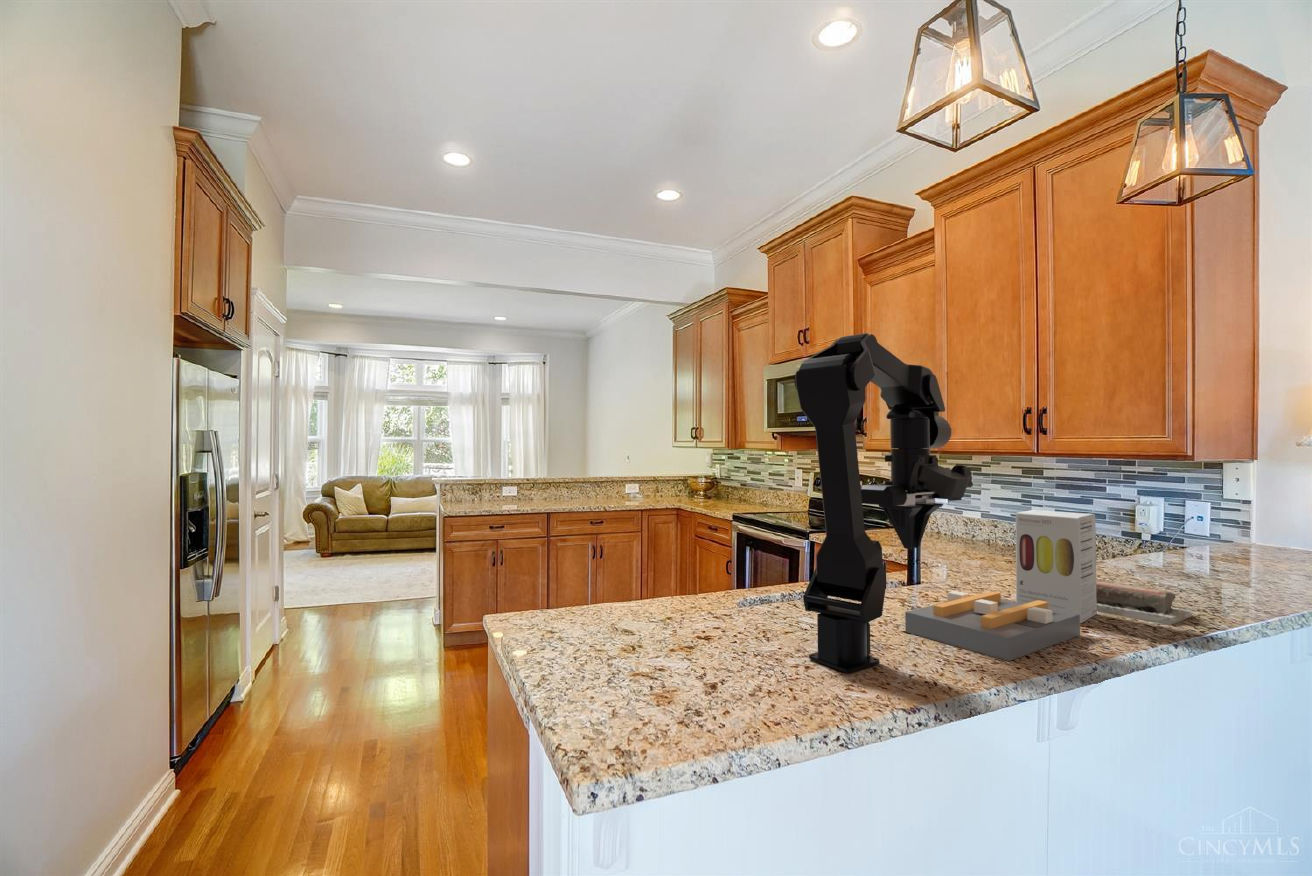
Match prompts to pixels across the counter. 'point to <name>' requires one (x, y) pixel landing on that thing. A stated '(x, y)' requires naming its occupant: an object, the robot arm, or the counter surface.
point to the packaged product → (1138, 603)
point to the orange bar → (1010, 614)
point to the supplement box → (1057, 560)
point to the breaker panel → (995, 629)
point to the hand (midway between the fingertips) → (911, 548)
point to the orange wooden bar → (963, 604)
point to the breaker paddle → (985, 606)
